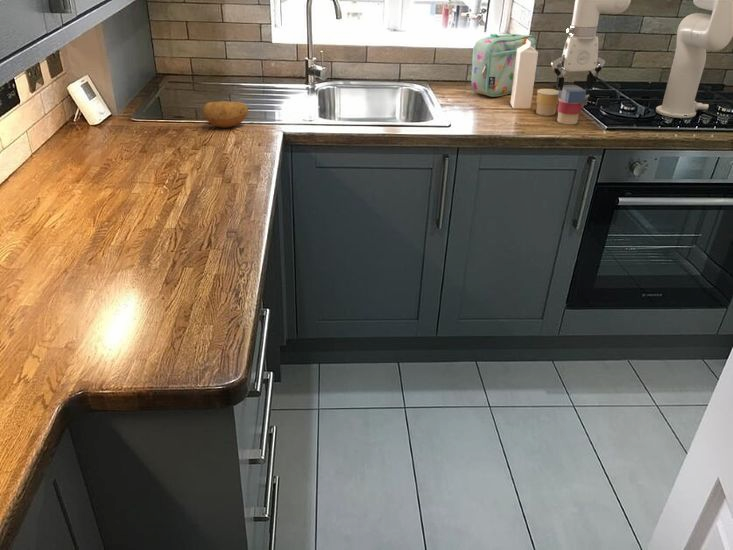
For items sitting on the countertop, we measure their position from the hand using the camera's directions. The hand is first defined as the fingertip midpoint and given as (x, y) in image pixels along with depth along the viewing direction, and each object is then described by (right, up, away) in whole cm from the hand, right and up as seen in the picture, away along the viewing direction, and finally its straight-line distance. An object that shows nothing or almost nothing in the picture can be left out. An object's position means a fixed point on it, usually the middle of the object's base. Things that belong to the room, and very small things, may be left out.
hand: (574, 88), depth 195 cm
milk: (-12, 0, +21) cm, 24 cm away
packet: (0, -3, +2) cm, 3 cm away
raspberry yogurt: (0, -9, +5) cm, 11 cm away
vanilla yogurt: (-5, -4, +14) cm, 15 cm away
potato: (-111, -12, 0) cm, 111 cm away
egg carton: (+6, +1, +23) cm, 24 cm away
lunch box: (-16, +9, +36) cm, 41 cm away
